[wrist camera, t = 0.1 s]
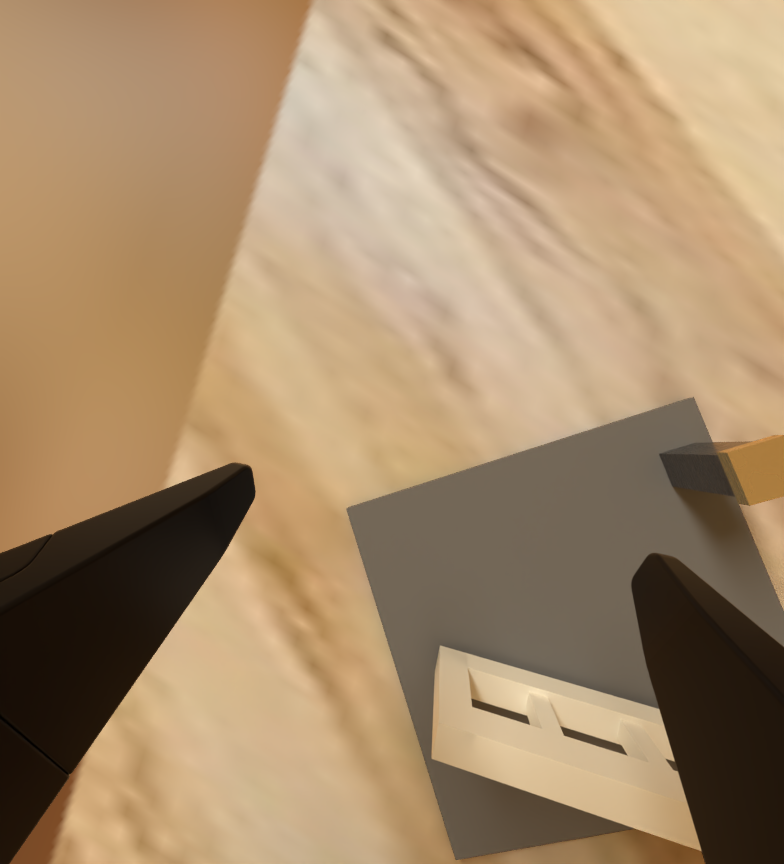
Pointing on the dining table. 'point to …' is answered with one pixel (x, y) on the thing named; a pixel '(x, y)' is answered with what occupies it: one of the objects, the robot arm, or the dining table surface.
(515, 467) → the mat
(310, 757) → the dining table surface
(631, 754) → the gate
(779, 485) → the post
